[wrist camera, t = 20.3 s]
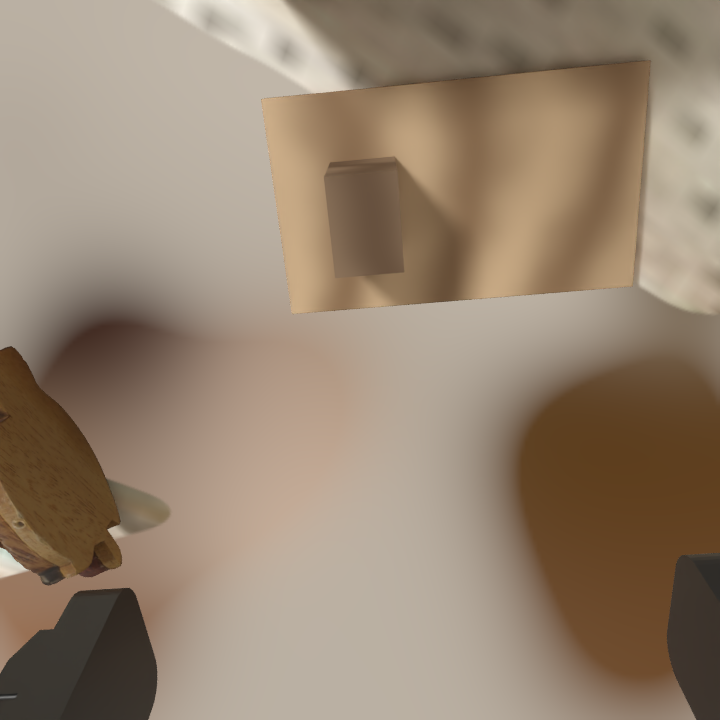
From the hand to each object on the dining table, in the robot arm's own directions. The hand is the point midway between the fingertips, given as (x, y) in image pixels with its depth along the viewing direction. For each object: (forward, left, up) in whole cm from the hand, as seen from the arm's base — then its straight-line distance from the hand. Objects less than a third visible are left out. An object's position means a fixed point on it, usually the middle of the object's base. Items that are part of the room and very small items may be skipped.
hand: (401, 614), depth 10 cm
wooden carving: (-22, -13, -30) cm, 40 cm away
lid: (+4, 0, -31) cm, 31 cm away
